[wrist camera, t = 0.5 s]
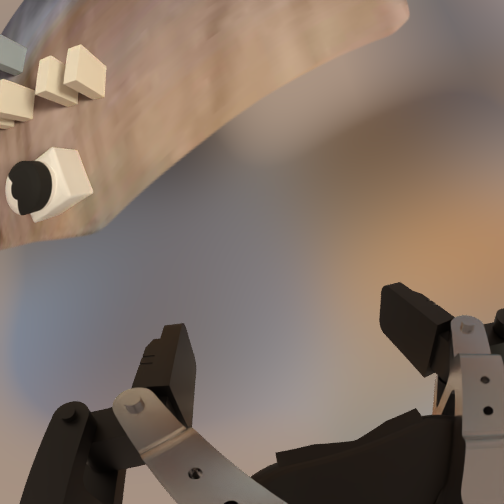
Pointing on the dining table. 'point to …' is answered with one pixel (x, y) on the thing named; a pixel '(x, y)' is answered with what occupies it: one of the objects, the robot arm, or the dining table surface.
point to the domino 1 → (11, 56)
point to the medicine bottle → (47, 184)
